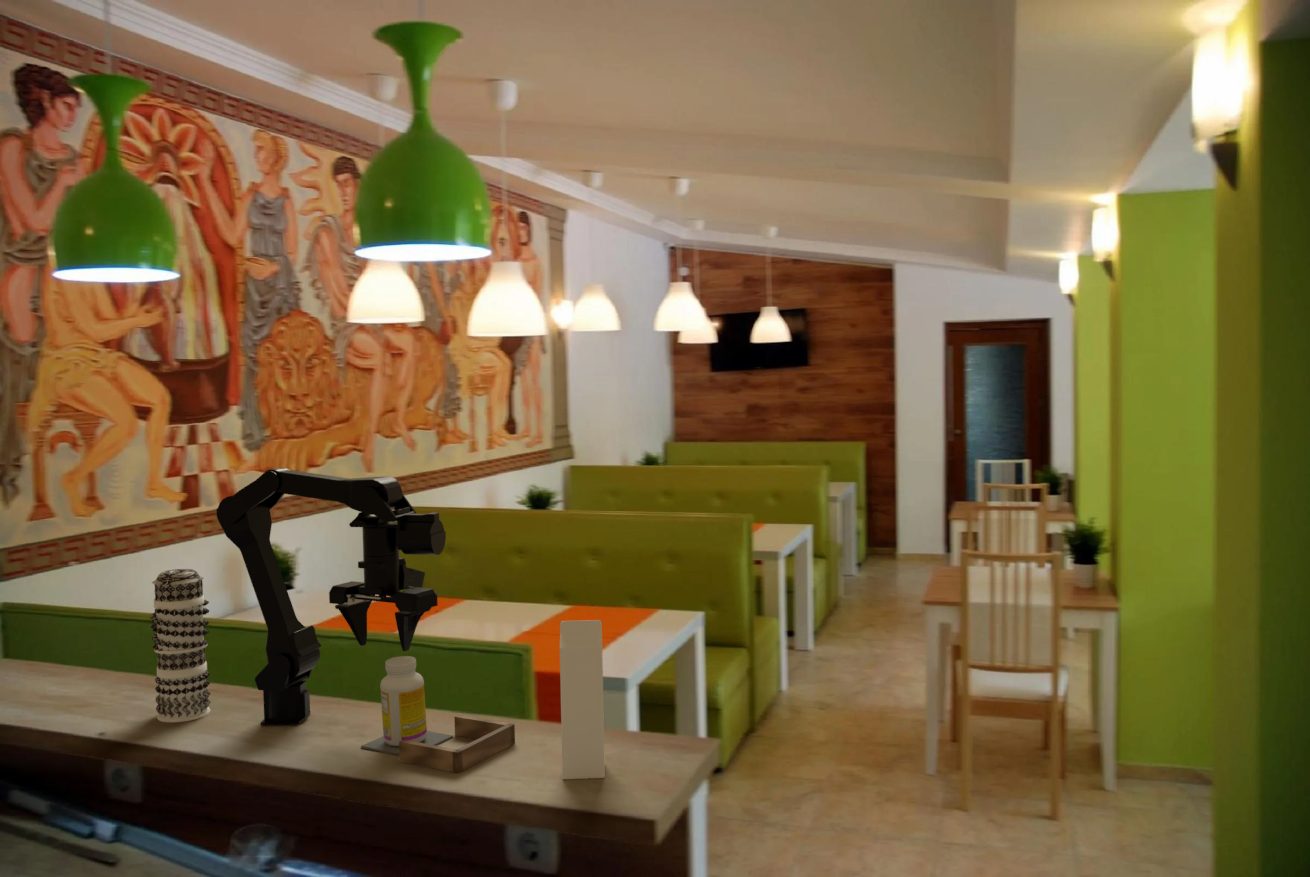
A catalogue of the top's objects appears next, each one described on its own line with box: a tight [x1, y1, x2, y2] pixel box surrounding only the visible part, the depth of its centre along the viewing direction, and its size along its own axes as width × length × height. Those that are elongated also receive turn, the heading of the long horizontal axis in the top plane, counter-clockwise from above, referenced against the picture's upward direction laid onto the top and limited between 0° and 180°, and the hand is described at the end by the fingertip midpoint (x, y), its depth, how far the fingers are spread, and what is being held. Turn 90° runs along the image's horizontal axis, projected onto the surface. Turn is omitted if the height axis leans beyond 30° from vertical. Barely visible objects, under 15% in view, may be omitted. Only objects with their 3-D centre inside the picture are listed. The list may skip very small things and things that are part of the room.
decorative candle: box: [149, 568, 212, 723], centre depth 180 cm, size 9×9×25 cm
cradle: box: [399, 714, 516, 774], centre depth 159 cm, size 11×14×3 cm
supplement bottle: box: [379, 655, 428, 746], centre depth 163 cm, size 7×7×13 cm
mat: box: [360, 730, 454, 756], centre depth 164 cm, size 10×10×1 cm
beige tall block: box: [559, 619, 606, 780], centre depth 150 cm, size 6×6×22 cm
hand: (384, 648), depth 172 cm, fingers open, 9 cm apart
